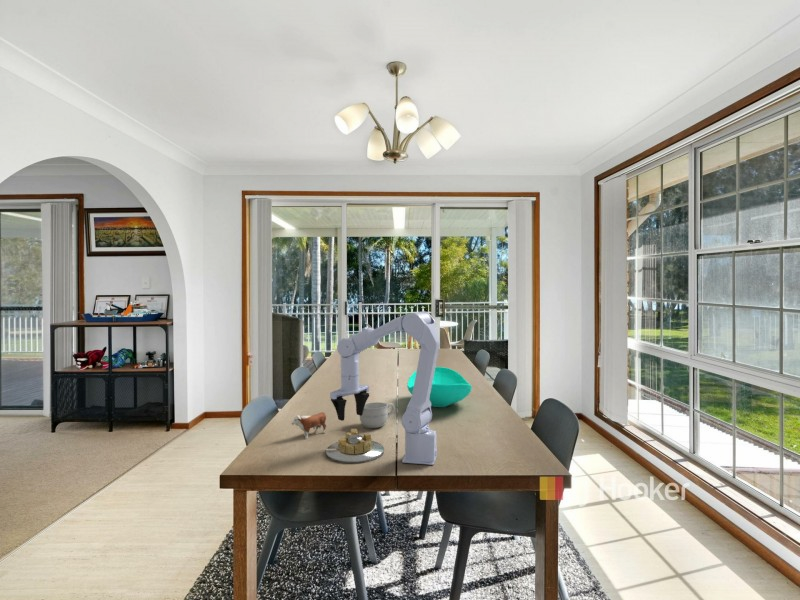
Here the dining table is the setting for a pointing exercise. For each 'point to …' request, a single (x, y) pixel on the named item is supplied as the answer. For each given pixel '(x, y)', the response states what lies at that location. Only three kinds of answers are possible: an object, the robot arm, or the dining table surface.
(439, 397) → the table top decor
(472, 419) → the dining table surface
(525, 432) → the dining table surface
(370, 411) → the teacup
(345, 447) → the ring nut
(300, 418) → the bull figurine
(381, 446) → the flange
